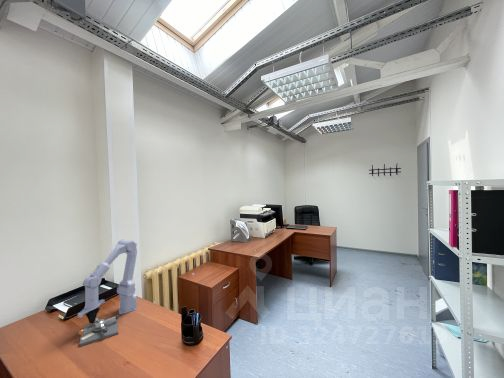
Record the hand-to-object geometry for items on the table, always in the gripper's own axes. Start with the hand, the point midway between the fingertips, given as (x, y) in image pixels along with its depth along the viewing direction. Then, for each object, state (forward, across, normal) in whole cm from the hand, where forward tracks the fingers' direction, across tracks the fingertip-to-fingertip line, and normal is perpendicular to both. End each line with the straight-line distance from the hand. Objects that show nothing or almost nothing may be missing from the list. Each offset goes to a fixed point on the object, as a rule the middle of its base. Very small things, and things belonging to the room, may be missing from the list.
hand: (92, 322), depth 117 cm
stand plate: (+3, +1, +6) cm, 7 cm away
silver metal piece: (+2, +1, +6) cm, 7 cm away
